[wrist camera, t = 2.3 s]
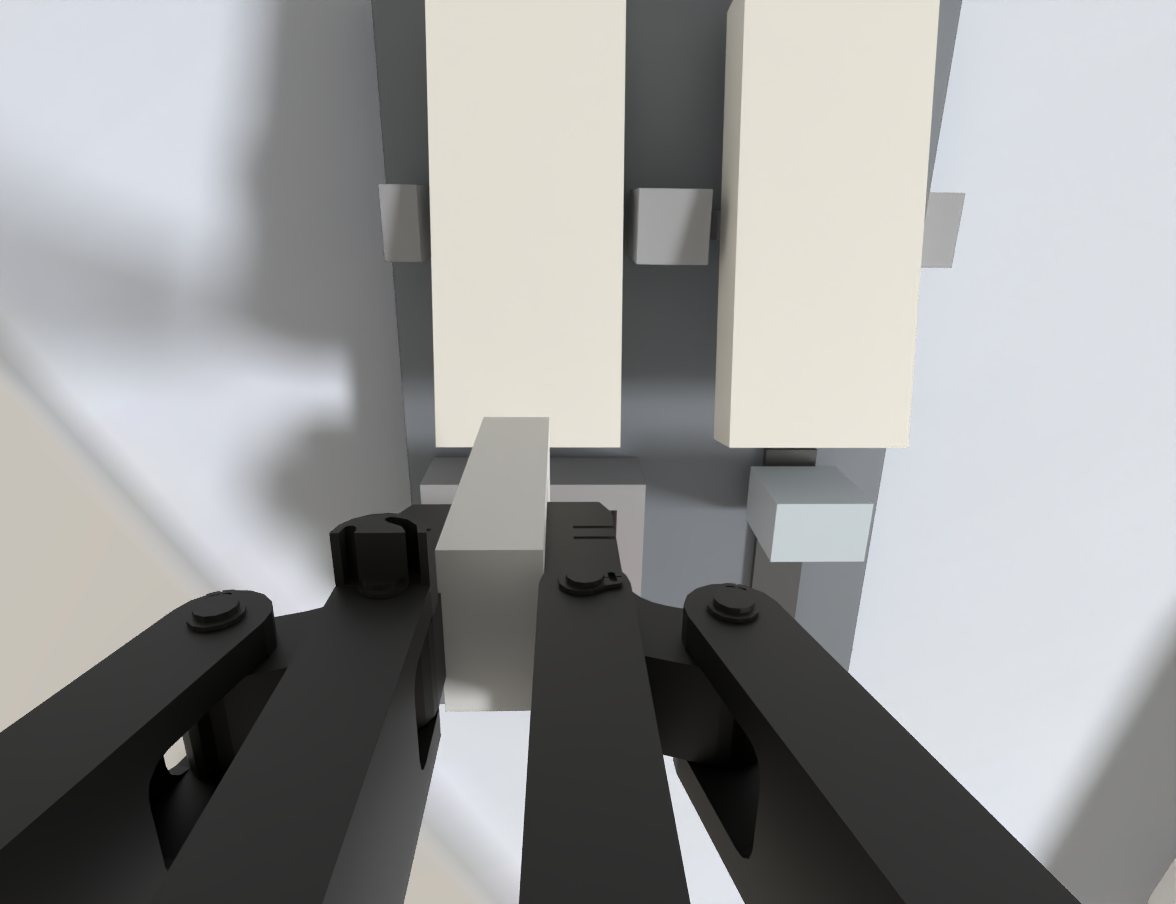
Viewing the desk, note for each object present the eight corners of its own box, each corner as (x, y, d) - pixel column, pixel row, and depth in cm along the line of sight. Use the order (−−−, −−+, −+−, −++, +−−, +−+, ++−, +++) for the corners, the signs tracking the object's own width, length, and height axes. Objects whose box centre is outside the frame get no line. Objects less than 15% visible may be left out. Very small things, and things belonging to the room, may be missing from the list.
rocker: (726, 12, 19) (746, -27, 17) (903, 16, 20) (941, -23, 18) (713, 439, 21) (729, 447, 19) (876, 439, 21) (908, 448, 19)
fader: (750, 466, 24) (777, 504, 21) (835, 466, 24) (873, 503, 21) (745, 518, 25) (770, 562, 22) (827, 517, 25) (863, 561, 22)
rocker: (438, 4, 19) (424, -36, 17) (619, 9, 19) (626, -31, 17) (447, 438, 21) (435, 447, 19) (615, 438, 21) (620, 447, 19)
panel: (386, -5, 21) (336, -62, 17) (929, 9, 22) (1029, -43, 17) (436, 672, 30) (412, 760, 25) (826, 668, 30) (874, 753, 26)
